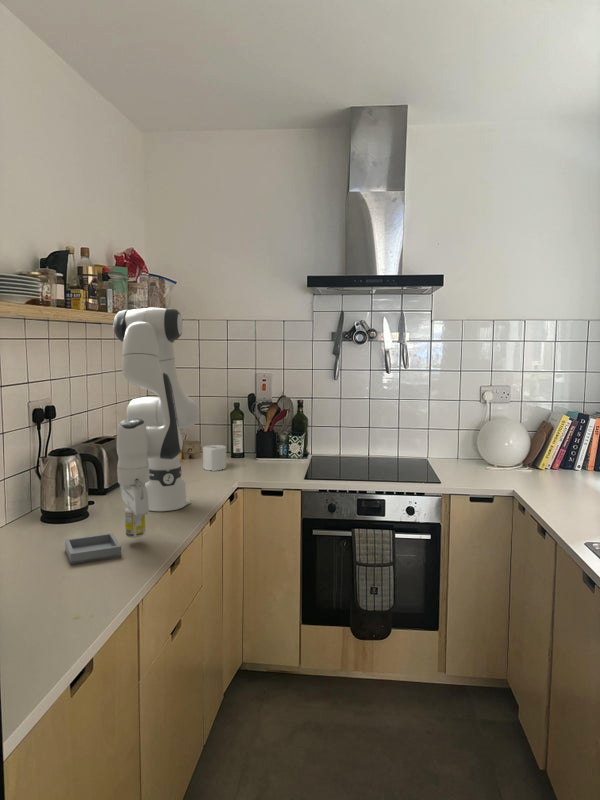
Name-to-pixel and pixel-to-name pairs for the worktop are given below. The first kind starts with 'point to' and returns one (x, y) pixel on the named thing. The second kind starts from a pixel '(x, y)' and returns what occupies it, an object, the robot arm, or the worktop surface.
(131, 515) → the supplement bottle
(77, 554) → the tray
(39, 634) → the worktop surface
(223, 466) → the toilet tissue
